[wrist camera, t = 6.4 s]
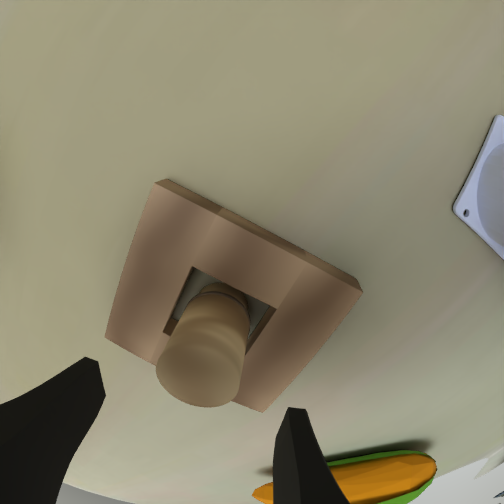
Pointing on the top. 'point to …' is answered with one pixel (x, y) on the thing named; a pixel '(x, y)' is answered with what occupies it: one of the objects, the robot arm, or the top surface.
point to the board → (234, 274)
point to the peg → (207, 348)
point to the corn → (376, 478)
